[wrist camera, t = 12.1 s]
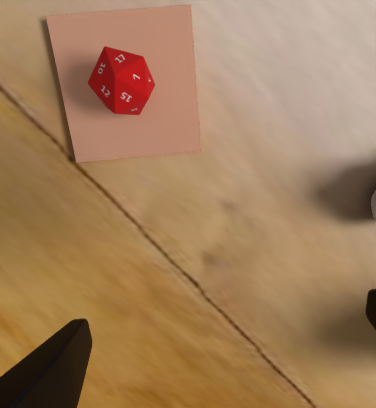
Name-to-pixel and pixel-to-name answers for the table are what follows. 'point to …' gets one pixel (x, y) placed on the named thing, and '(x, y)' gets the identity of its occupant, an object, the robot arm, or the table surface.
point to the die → (122, 81)
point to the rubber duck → (373, 204)
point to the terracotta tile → (159, 68)
